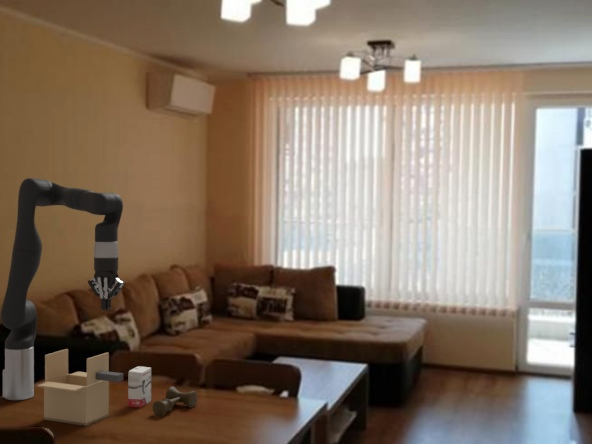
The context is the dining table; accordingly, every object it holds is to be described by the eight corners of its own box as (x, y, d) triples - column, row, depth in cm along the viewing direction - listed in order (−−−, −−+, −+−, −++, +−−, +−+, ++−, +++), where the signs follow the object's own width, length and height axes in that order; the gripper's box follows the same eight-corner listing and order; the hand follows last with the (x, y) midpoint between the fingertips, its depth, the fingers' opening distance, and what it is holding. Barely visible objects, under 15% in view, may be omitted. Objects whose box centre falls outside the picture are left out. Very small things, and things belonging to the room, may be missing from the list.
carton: (34, 423, 221) (34, 357, 221) (75, 406, 239) (75, 346, 238) (77, 430, 215) (77, 362, 215) (116, 412, 233) (116, 350, 232)
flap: (86, 358, 219) (110, 361, 216) (107, 352, 228) (130, 354, 225) (86, 385, 219) (110, 388, 216) (107, 377, 229) (130, 380, 225)
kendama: (145, 416, 232) (179, 398, 250) (170, 421, 228) (203, 403, 246) (145, 397, 231) (179, 381, 250) (171, 402, 228) (204, 385, 246)
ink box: (141, 408, 239) (141, 372, 238) (127, 407, 240) (127, 371, 239) (151, 401, 247) (151, 366, 247) (138, 400, 248) (138, 365, 248)
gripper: (81, 255, 230) (81, 310, 231) (116, 257, 225) (116, 313, 226) (96, 254, 237) (96, 307, 238) (130, 255, 232) (130, 310, 233)
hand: (106, 310), depth 232 cm, fingers closed
